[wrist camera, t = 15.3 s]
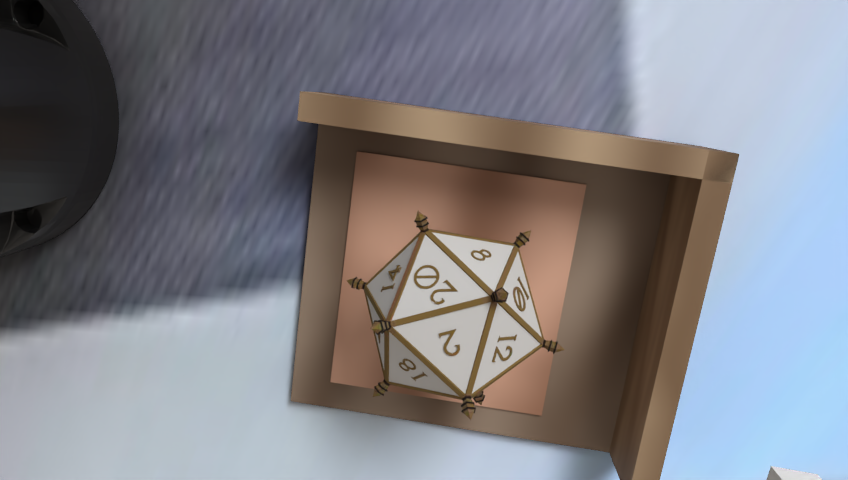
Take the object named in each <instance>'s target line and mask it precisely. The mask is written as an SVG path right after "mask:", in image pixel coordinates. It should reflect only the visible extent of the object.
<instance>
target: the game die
mask: <svg viewBox="0 0 848 480" xmlns="http://www.w3.org/2000/svg"><path fill="white" fill-rule="evenodd" d="M427 219H428V218H427V217H426V216H425V215H423V214H422V213H421V212H419V211H418V212H417V216H416V219H415V220H414V222H416V224H417V225H416V227H418V228H419V229H420V232H419V233H418V234H417V235H416V236H415V237H414V238H413V239H412V240H411V241H410V242H409V243H408V244H407V245H406V246H405V247H404V248H403V249H401V250H400V251H399V252H398V253H397V254H396V255H395V256H394V257H393V258H392V259H391V260H390V261H389V262H388V263H387V264H386V265H385V266H384V267H383V268H382V269H380V270H379V271H378V272H377V273H376V274H375V275H374V276H373V277H372V278H371V279H370V280H369V281H368V282H364V281H362V279H358V278H357V277H355V278H353V279H349V280H346V281H347V282H348V283H349V284H350V285H351V288H354V289H355V288H356V289H358V290H360V289H363V290H364V293H365V297H366V302H367V306H368V310H369V315H370V319H371V323H372V327H371V329H372V330H373V332H374V336H375V341H376V345H377V350H378V354H379V358H380V363H381V367H382V371H383V376H384V380H383V381H382V382H379V383H378V385H377V386H374V388H375V389H374V393H373V397H376V396H380V395H383V396H384V393H385V392H387V391H388V390H387V389H388V387H389V386H390V385H394V386H398V387H403V388H408V389H412V390H417V391H422V392H426V393H431V394H436V395H440V396H445V397H450V398H454V399H459V400H463V403H462V405H461V407H462V409H463V410H462V411H461V412H462V413H464V414H465V415H466V416H467V417H468V418H469V419H470V420H471V419H472V416H473V414H474V413H475V410H476V407H474V402H473V401H472V400H471V399H472V398H473V397H474V398H473V399H474V401H475V402H476V403H479V404H480V405H482V402H483V401H484V398H485V395H483V390H484V389H486V388H487V387H488V386H490V385H491V384H492V383H494V382H495V381H496V380H498V379H499V378H501V377H502V376H503V375H505V374H506V373H507V372H509V371H510V370H512V369H513V368H514V367H516V366H517V365H518V364H520V363H521V362H523V361H524V360H525V359H527V358H528V357H529V356H531V355H532V354H533V353H535V352H536V351H538V350H539V349H540V348H545V349H547V350H548V352H549V351H551V352H553V354H554V353H555V352H559V351H563V350H565V349H564V348H563V347H562V346H561V345H559V344H558V341H556V342H554V341H552V340H551V341H548V340H545V339H544V337H543V333H542V329H541V326H540V322H539V319H538V315H537V311H536V308H535V304H534V300H533V297H532V293H531V290H530V286H529V282H528V279H527V275H526V272H525V268H524V264H523V261H522V257H521V253H520V250H519V248H520V247H521V246H523V245H524V246H525V245H526V244H525V243H526V242H527V241H528V242H529V237H530V233H531V231H527V232H523V233H521V232H520V235H519V236H518V237H517V236H516V240H515V242H514V243H510V242H504V241H498V240H492V239H486V238H480V237H474V236H468V235H462V234H457V233H451V232H445V231H439V230H433V229H428V224H429V222H427Z"/></svg>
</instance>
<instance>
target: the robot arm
mask: <svg viewBox="0 0 848 480" xmlns="http://www.w3.org/2000/svg"><path fill="white" fill-rule="evenodd" d="M118 130H119V112H118V100H117V93H116V88H115V83H114V79H113V75H112V72H111V68H110V65H109V63H108V60H107V57H106V55H105V52H104V50H103V48H102V45H101V43H100V41H99V39H98V38H97V36H96V34H95V32H94V30H93V29H92V27H91V25H90V24H89V22H88V21H87V19H86V18H85V16H84V15H83V14H82V12H81V11H80V10H79V8H78V7H77V6H76V5H75V3H74V2H73V1H72V0H0V257H2V256H5V255H9V254H12V253H15V252H18V251H21V250H24V249H27V248H30V247H33V246H36V245H39V244H41V243H44V242H46V241H48V240H50V239H52V238H54V237H56V236H58V235H59V234H61V233H63V232H64V231H65V230H67V229H68V228H70V227H71V226H72V225H73V224H74V223H76V222H77V221H78V220H79V219H80V218H81V217H82V216H83V215H84V214H85V213H86V212H87V210H88V209H89V208H90V207H91V206H92V204H93V203H94V201H95V200H96V199H97V197H98V195H99V194H100V192H101V190H102V188H103V186H104V184H105V182H106V180H107V178H108V175H109V173H110V170H111V167H112V164H113V161H114V157H115V152H116V147H117V141H118ZM767 480H822V479H821V478H820V477H819V476H818V475H817V474H812V473H806V472H801V471H795V470H790V469H784V468H778V467H773V466H771V468H770V471H769V474H768V477H767Z"/></svg>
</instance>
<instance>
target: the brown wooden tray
mask: <svg viewBox="0 0 848 480" xmlns="http://www.w3.org/2000/svg"><path fill="white" fill-rule="evenodd" d="M297 121H303V122H310V123H317V124H319V125H318V135H317V145H316V155H315V165H314V175H313V185H312V195H311V204H310V214H309V224H308V234H307V244H306V254H305V264H304V274H303V284H302V294H301V304H300V314H299V323H298V333H297V343H296V353H295V363H294V373H293V383H292V393H291V401H294V402H300V403H306V404H312V405H319V406H325V407H331V408H337V409H343V410H350V411H356V412H362V413H368V414H374V415H381V416H387V417H393V418H399V419H405V420H412V421H418V422H424V423H430V424H436V425H443V426H449V427H455V428H461V429H467V430H474V431H480V432H486V433H492V434H498V435H505V436H511V437H517V438H523V439H529V440H536V441H542V442H548V443H554V444H560V445H567V446H573V447H579V448H585V449H591V450H598V451H604V452H609V453H610V456H611V458H612V461H613V463H614V466H615V468H616V471H617V473H618V476H619V478H620V480H660V476H661V472H662V468H663V464H664V460H665V456H666V452H667V448H668V443H669V439H670V435H671V431H672V427H673V423H674V419H675V415H676V411H677V407H678V403H679V399H680V394H681V390H682V386H683V382H684V378H685V374H686V370H687V366H688V362H689V358H690V354H691V350H692V345H693V341H694V337H695V333H696V329H697V325H698V321H699V317H700V313H701V309H702V305H703V300H704V296H705V292H706V288H707V284H708V280H709V276H710V272H711V268H712V264H713V260H714V256H715V251H716V247H717V243H718V239H719V235H720V231H721V227H722V223H723V219H724V215H725V211H726V207H727V202H728V198H729V194H730V190H731V186H732V182H733V178H734V174H735V170H736V166H737V162H738V158H739V154H736V153H731V152H726V151H721V150H716V149H711V148H707V147H702V146H695V145H688V144H681V143H674V142H667V141H660V140H653V139H646V138H639V137H632V136H625V135H618V134H611V133H604V132H597V131H590V130H583V129H576V128H569V127H562V126H555V125H548V124H541V123H534V122H527V121H520V120H513V119H506V118H499V117H492V116H485V115H478V114H471V113H464V112H457V111H450V110H443V109H436V108H429V107H422V106H415V105H408V104H401V103H394V102H387V101H380V100H373V99H366V98H359V97H352V96H345V95H338V94H331V93H322V92H301V91H300V99H299V110H298V120H297ZM418 211H419V212H421V213H422V214H423V215H425V216H426V217H427V218H428V219H427V222H429V224H428V229H433V230H439V231H445V232H451V233H457V234H462V235H468V236H474V237H480V238H486V239H492V240H498V241H504V242H510V243H514V242H515V240H516V236H517V237H518V236H519V235H520V232H521V233H523V232H527V231H531V233H530V237H529V242H528V241H527V242H526V243H525V244H526V245H525V246H524V245H523V246H521V247H520V248H519V250H520V253H521V257H522V261H523V264H524V268H525V272H526V275H527V279H528V282H529V286H530V290H531V293H532V297H533V300H534V304H535V308H536V311H537V315H538V319H539V322H540V326H541V329H542V333H543V337H544V339H545V340H548V341H551V340H552V341H554V342H556V341H558V344H559V345H561V346H562V347H563V348H564V349H565V350H563V351H559V352H555V353H554V354H553V352H551V351H549V352H548V350H547V349H545V348H540V349H539V350H538V351H536V352H535V353H533V354H532V355H531V356H529V357H528V358H527V359H525V360H524V361H523V362H521V363H520V364H518V365H517V366H516V367H514V368H513V369H512V370H510V371H509V372H507V373H506V374H505V375H503V376H502V377H501V378H499V379H498V380H496V381H495V382H494V383H492V384H491V385H490V386H488V387H487V388H486V389H484V390H483V395H485V398H484V401H483V402H482V405H480V404H479V403H476V402H475V401H474V399H473V398H474V397H473V398H472V399H471V400H472V401H473V402H474V407H476V410H475V413H474V414H473V416H472V419H471V420H470V419H469V418H468V417H467V416H466V415H465V414H464V413H462V412H461V411H462V410H463V409H462V407H461V405H462V403H463V400H459V399H454V398H450V397H445V396H440V395H436V394H431V393H426V392H422V391H417V390H412V389H408V388H403V387H398V386H394V385H390V386H389V387H388V389H387V390H388V391H387V392H385V393H384V396H383V395H380V396H376V397H373V393H374V389H375V388H374V386H377V385H378V383H379V382H382V381H383V380H384V376H383V371H382V367H381V363H380V358H379V354H378V350H377V345H376V341H375V336H374V332H373V330H372V329H371V327H372V323H371V319H370V315H369V310H368V306H367V302H366V297H365V293H364V290H363V289H360V290H358V289H356V288H355V289H354V288H351V285H350V284H349V283H348V282H347V281H346V280H349V279H353V278H355V277H357V278H358V279H362V281H364V282H368V281H369V280H370V279H371V278H372V277H373V276H374V275H375V274H376V273H377V272H378V271H379V270H380V269H382V268H383V267H384V266H385V265H386V264H387V263H388V262H389V261H390V260H391V259H392V258H393V257H394V256H395V255H396V254H397V253H398V252H399V251H400V250H401V249H403V248H404V247H405V246H406V245H407V244H408V243H409V242H410V241H411V240H412V239H413V238H414V237H415V236H416V235H417V234H418V233H419V232H420V229H419V228H418V227H416V225H417V224H416V222H414V220H415V219H416V216H417V212H418Z"/></svg>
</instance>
